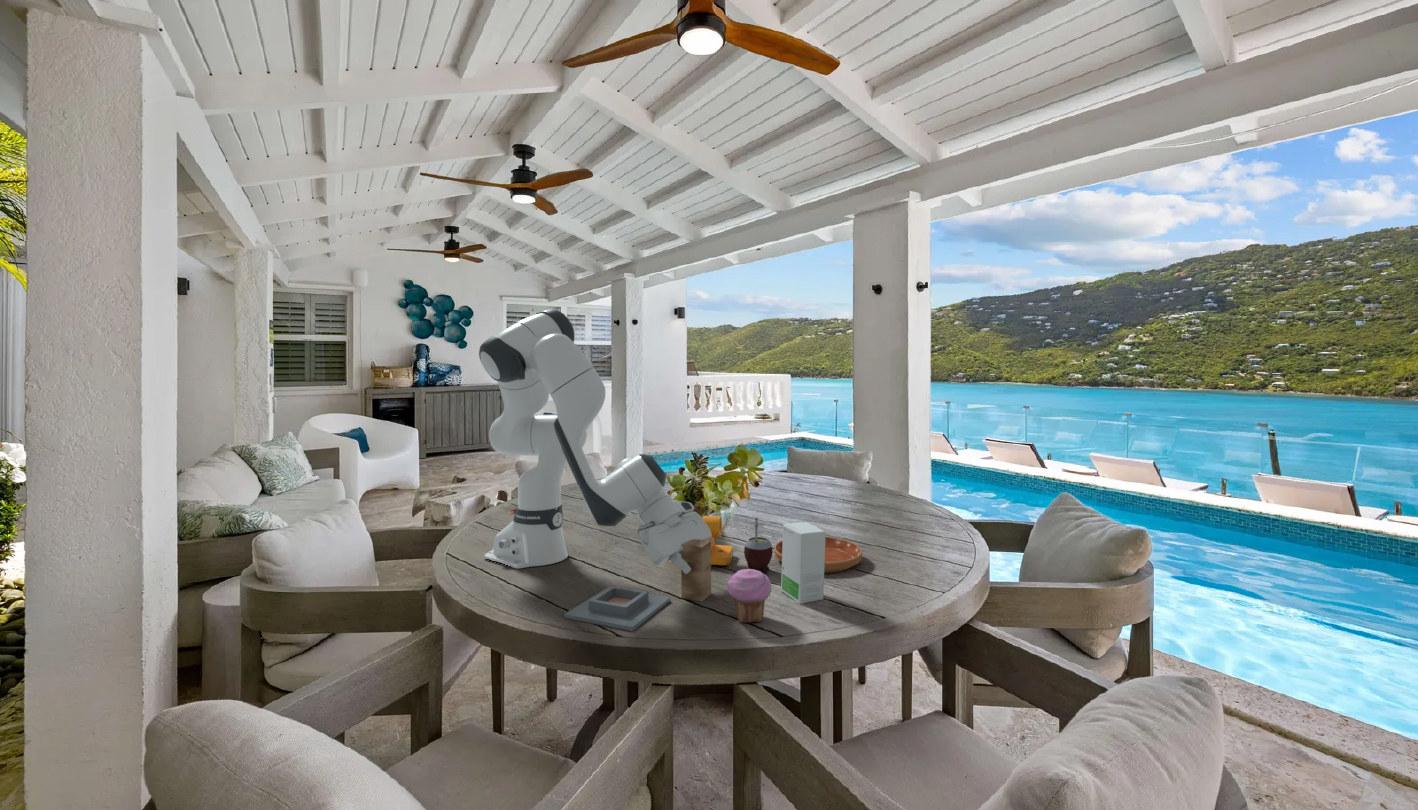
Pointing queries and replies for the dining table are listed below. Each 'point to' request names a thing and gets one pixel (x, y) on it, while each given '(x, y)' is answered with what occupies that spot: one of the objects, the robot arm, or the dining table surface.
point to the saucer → (834, 554)
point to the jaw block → (696, 570)
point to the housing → (618, 608)
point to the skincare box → (803, 562)
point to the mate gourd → (758, 552)
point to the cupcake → (749, 594)
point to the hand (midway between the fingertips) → (698, 567)
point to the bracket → (718, 552)
